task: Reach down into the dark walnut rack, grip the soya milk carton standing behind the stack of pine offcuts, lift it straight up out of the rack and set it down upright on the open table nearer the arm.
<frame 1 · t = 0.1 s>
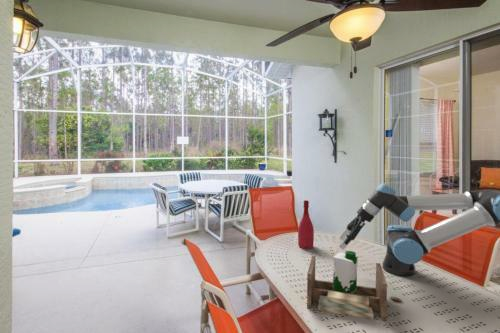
hand: (340, 243, 141), 15 cm above the table, tool tilted 35°, fingers open, 13 cm apart
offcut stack: (344, 311, 109), on the table
walnut rack: (344, 302, 115), on the table
soya milk: (344, 298, 119), resting in walnut rack
wine bottle: (305, 246, 180), on the table
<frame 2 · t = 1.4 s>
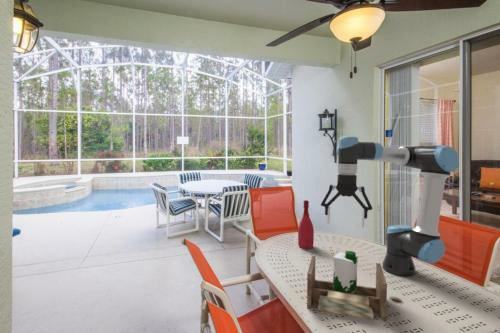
hand: (345, 224, 118), 31 cm above the table, tool pointing down, fingers open, 13 cm apart
nothing on the table moved.
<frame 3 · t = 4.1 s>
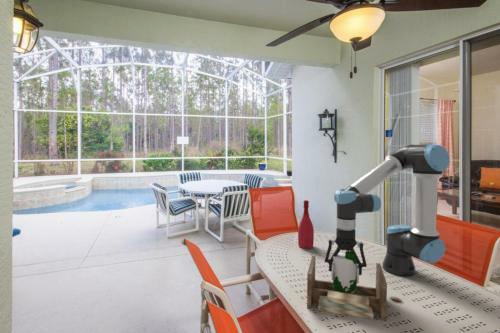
hand: (344, 280, 118), 8 cm above the table, tool pointing down, fingers closed on soya milk, 9 cm apart
soya milk: (344, 298, 119), resting in walnut rack, touching gripper
everything else where it was.
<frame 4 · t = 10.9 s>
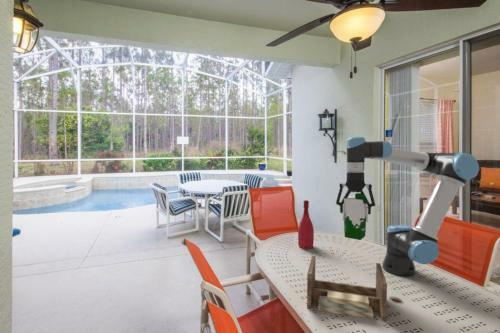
hand: (354, 220, 128), 30 cm above the table, tool pointing down, fingers closed on soya milk, 9 cm apart
soya milk: (354, 237, 128), point 22 cm above the table, touching gripper
everything else where it was.
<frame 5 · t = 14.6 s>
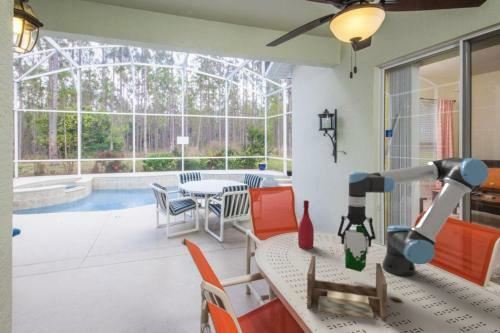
hand: (355, 251, 132), 14 cm above the table, tool pointing down, fingers closed on soya milk, 9 cm apart
soya milk: (355, 267, 133), point 6 cm above the table, touching gripper
everything else where it was.
when the fingers open (8 cm above the table, at t = 18.0 s): soya milk stays where it is, on the table.
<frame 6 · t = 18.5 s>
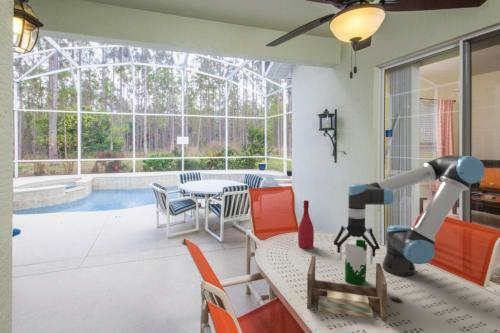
hand: (355, 261, 133), 10 cm above the table, tool pointing down, fingers open, 13 cm apart
soya milk: (355, 281, 133), on the table
everything else where it was.
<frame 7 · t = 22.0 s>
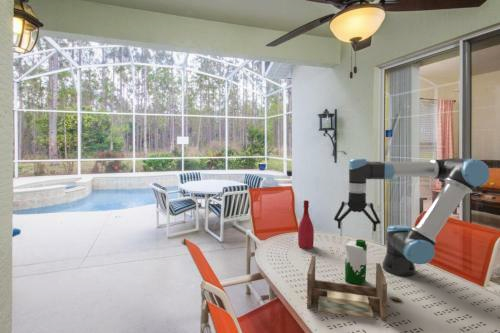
hand: (356, 236, 132), 22 cm above the table, tool pointing down, fingers open, 13 cm apart
nothing on the table moved.
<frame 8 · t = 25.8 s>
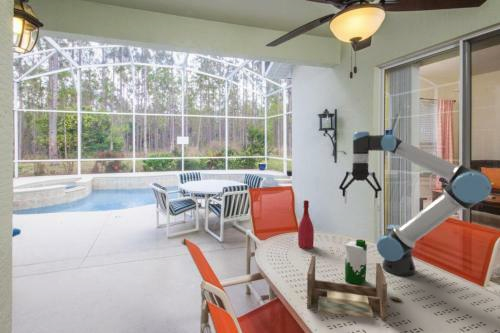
hand: (359, 203, 144), 35 cm above the table, tool pointing down, fingers open, 13 cm apart
nothing on the table moved.
at the end: soya milk inside the target area (0.0 cm from its centre), on the table; soya milk tilted 0°; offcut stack moved 0.4 cm from its start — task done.
